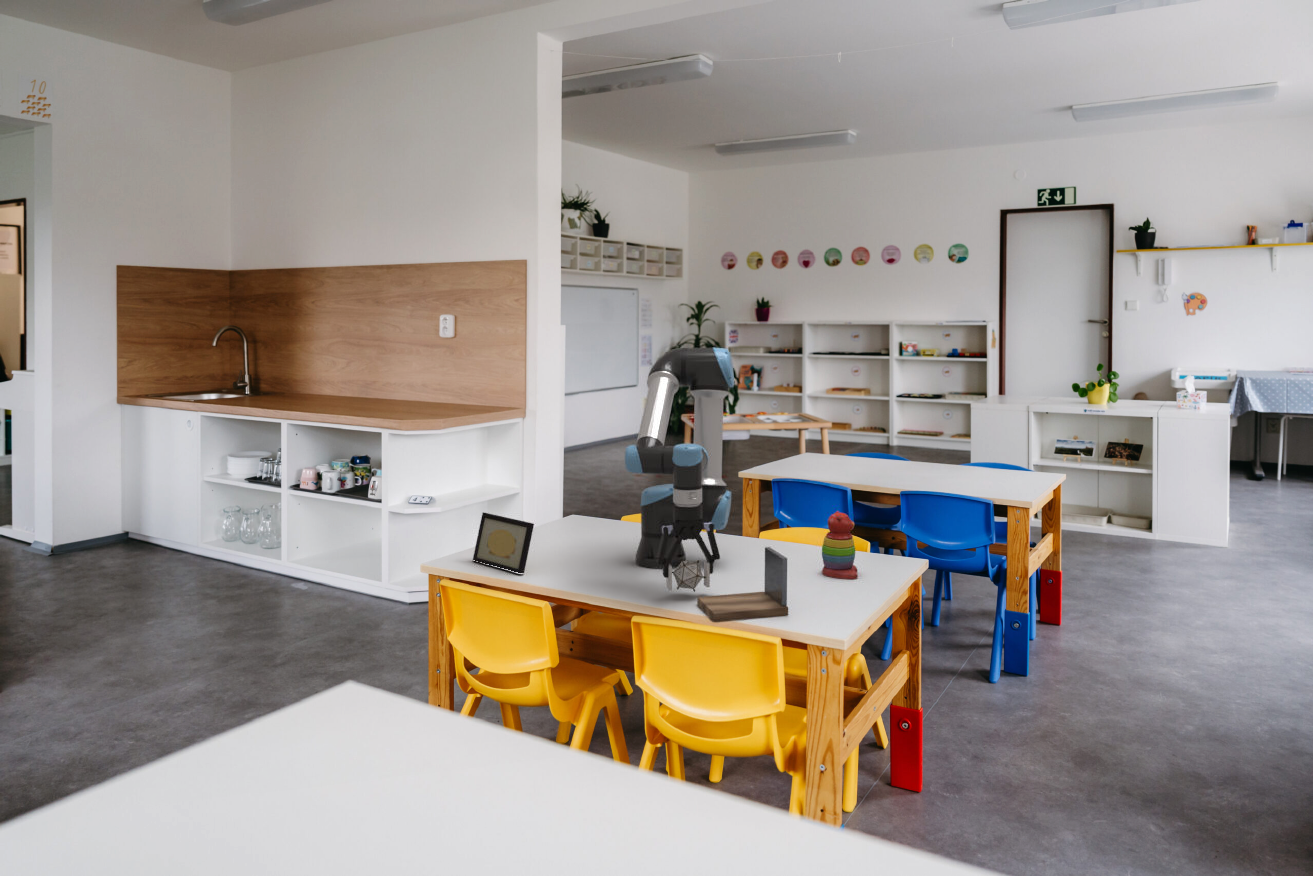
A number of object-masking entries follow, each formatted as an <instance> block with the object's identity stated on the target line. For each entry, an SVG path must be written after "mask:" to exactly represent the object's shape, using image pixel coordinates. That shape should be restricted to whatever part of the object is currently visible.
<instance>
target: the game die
mask: <svg viewBox="0 0 1313 876" xmlns="http://www.w3.org/2000/svg"><path fill="white" fill-rule="evenodd" d="M681 561H682V562H681V563H680V564H679V565H678V566H677V567H675V569H674V570H673V571H672V575H673V577H674V579H675V582H676V584H677V587H676V590H679V589H680V588H681V589H682V588H683V589H690V590H693V592H696V589H695V588H696V587H697V586H698V585H699V584H700V583H701V581H702V580H703V579H704V578H706V577H705V576H704V574H703V573H702V570H701V568H700V565H699V563H700V559H698V560H697V561H688V560H686V561H683V559H682V558H681Z"/></svg>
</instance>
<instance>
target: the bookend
mask: <svg viewBox="0 0 1313 876" xmlns="http://www.w3.org/2000/svg"><path fill="white" fill-rule="evenodd" d="M764 592H765V593H766V594H767V595H768V596H769V597H771V598H772V599H773V600H775V601H776V602H777V603H778V604H780V605H781V606H787V607H788V604H787V603H788V558H787V557H786V556H784V555H783V554H782V553H780V552H778V551H776V550H775V549H773V548H772V547H770V546H764Z"/></svg>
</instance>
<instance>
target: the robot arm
mask: <svg viewBox="0 0 1313 876" xmlns="http://www.w3.org/2000/svg"><path fill="white" fill-rule="evenodd" d="M734 376H735V375H734V366H733V360H732V355H731V352H730V351H729V350H728V349H727V348H725V347H724V348H722V347H677V348H674V349H671V350H669V351H667V352H666V353H664V354H663V355H662V356H661V357H659V358H658V359H657V360H656V362H654V364H653V365H652V367H651V369H650V371H649V373H648V376H647V380H646V386H647V389H648V391H647V394H646V399H645V404H644V409H643V412H642V416H641V420H640V421H641V422H640V426H639V431H638V435H637V439H636V444H633V445H628V446H627V447H626V448H625V452H624V466H625V470H626V471H627V472H628V473H632V474H633V473H634V474H639V475H640V474H641V475H643V474H652V475H653V474H657V475H659V474H661V475H662V474H663V475H672V478H673V479H672V481H673V483H665V484H659V485H653V486H649V487H646V488H645V489H644V490H643V491H642V492H641V499H640V520H641V521H640V522H641V523H640V524H641V526H640V529H641V530H640V531H641V534H640V535H641V537H640V539H639V543H638V547H637V550H636V553H635V563H636V564H637V565H638V566H641V567H644V568H652V569H662V576H663V577H664V578H665V579H666V589H667V590H668V591H670V592H671V591H673V573H672V572H673V568H677V567H678V565H679V564H680V563H681V562H682V561H681V558H682V559H683V561H687V554H686V550H685V547H684V545H683V541H687V540H695V541H696V543H697V544H698V546H699V548H700V550H701V552H702V553H703V555H704V557H705V558H706V560H703V576H705V577H706V578H703V585H704V586H705V587H706V588H710V586H711V585H710V583H711V582H710V579H711V577H710V575H712V574H713V573H714V563H715V561H717V560H720V559H721V555H720V551H719V547H718V543H717V540H716V536H715V533H714V532H715V531H723V530H724V529H725V528H726V526H727V524H728V521H729V517H730V512H731V507H732V506H731V505H732V492H731V491H729V490H728V489H727V483H726V482H725V481H724V480H723V479H722V475H723V474H722V473H723V433H724V432H723V431H724V400H725V398H726V397H727V396H728V395H729V393H730V392H729V391H730V390H729V389H730V388H734V386H735V377H734ZM681 387H684V388H687V387H688V388H689V393H690V394H691V396H693V399H694V416H693V417H694V418H693V419H694V421H693V443H679V444H675V445H674V446H672V445H665V443H666V442H665V440H666V435H667V430H668V426H669V421H670V417H671V416H670V415H671V411H672V406H673V401H674V396H675V394H676V393H677V392H678V390H679V388H681ZM702 531H706V534H707V535H706V536H707V539H708V542H709V545H710V550H711V552H710V550H709V549H708V547H707V545H706V543H705V541H704V540H703V538H702V536H701V532H702ZM711 553H712V554H711Z"/></svg>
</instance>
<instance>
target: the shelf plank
mask: <svg viewBox="0 0 1313 876" xmlns="http://www.w3.org/2000/svg"><path fill="white" fill-rule="evenodd" d="M696 601H697V602H696V603H697V606H698V607H699V608H700V609H701V610H702V611H703V612H704V613H705V614H706V615H707V616H708V617H709V618H710V619H711V620H712V621H713V623H717V622H727V621H739V620H748V619H749V620H750V619H759V618H770V617H771V618H772V617H784V616H789V606H788V605H787V606H781V605H780V604H778V603H777V602H776V601H775V600H773V599H772V598H771V597H769V596H768V595H767V594H766V593H765V591H754V592H743V593H731V594H717V595H705V596H697V599H696Z"/></svg>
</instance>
